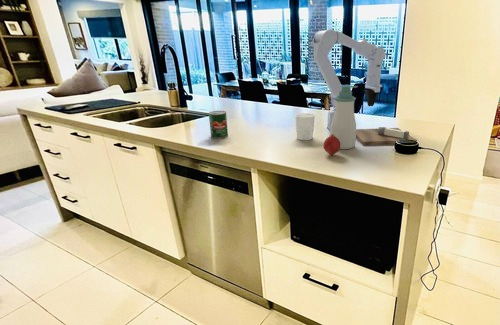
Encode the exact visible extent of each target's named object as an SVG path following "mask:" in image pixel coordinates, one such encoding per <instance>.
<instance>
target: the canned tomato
mask: <svg viewBox="0 0 500 325" xmlns="http://www.w3.org/2000/svg"><path fill="white" fill-rule="evenodd" d="M208 119H209V129H210V137H211V139H225V138H228V136H229V132H228V121H227V120H228V118H227V111H225V110H213V111H209V112H208Z"/></svg>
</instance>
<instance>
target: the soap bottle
mask: <svg viewBox="0 0 500 325" xmlns="http://www.w3.org/2000/svg"><path fill="white" fill-rule="evenodd" d="M351 88H354V89H356V88H358V85H347V84H346V85H342V91H339V96H337V97H336V98H335V100H336V108H335V113H334V117H333V120H332V123H331V127H330V130H329V136H328V137H330V136H331V135H332V134H334V136H335V137H337V138H338V139H339V141H340V149H339V150H350V149H353V148H355V147H356V140H357V139H356V129H357V122H356V117H355V101H356V99H357V97H355V96H353V91H352V90H351Z"/></svg>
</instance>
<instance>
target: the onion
mask: <svg viewBox="0 0 500 325" xmlns="http://www.w3.org/2000/svg"><path fill="white" fill-rule="evenodd" d="M329 136H330V135H329ZM329 136H328V137H327V138H326V139H325V140H324V142H323V149H324V151H325V152H326V153H327V154H328V155H329V156H334V155H335V154H336V153H338V152H339V151H340V150H341V149H340V141H339V139H338V138H337V137H335V136H334V134H332V135H331V136H330V137H329Z"/></svg>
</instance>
